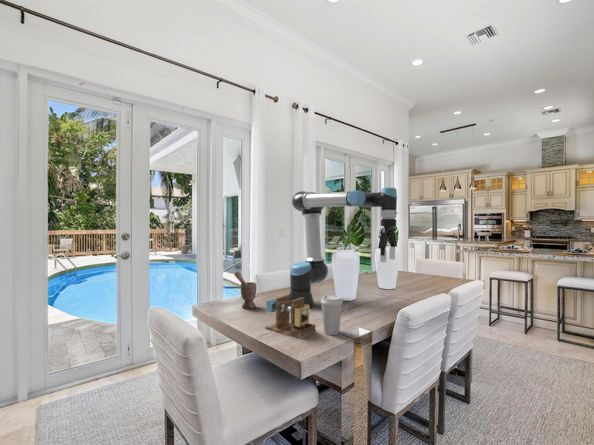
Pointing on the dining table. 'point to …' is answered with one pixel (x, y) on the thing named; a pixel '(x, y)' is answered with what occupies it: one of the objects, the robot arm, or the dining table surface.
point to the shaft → (272, 307)
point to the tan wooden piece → (298, 315)
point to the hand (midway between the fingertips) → (387, 260)
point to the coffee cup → (331, 313)
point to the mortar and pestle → (247, 292)
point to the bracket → (283, 319)
